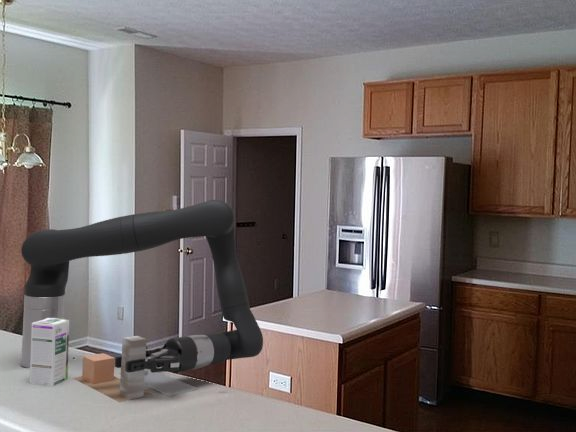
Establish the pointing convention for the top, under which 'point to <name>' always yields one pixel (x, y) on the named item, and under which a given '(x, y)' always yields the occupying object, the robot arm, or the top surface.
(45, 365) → the syrup box
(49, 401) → the top surface
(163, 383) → the grey flat slab
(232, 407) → the top surface
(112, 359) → the terracotta block
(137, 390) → the base with upright panel
